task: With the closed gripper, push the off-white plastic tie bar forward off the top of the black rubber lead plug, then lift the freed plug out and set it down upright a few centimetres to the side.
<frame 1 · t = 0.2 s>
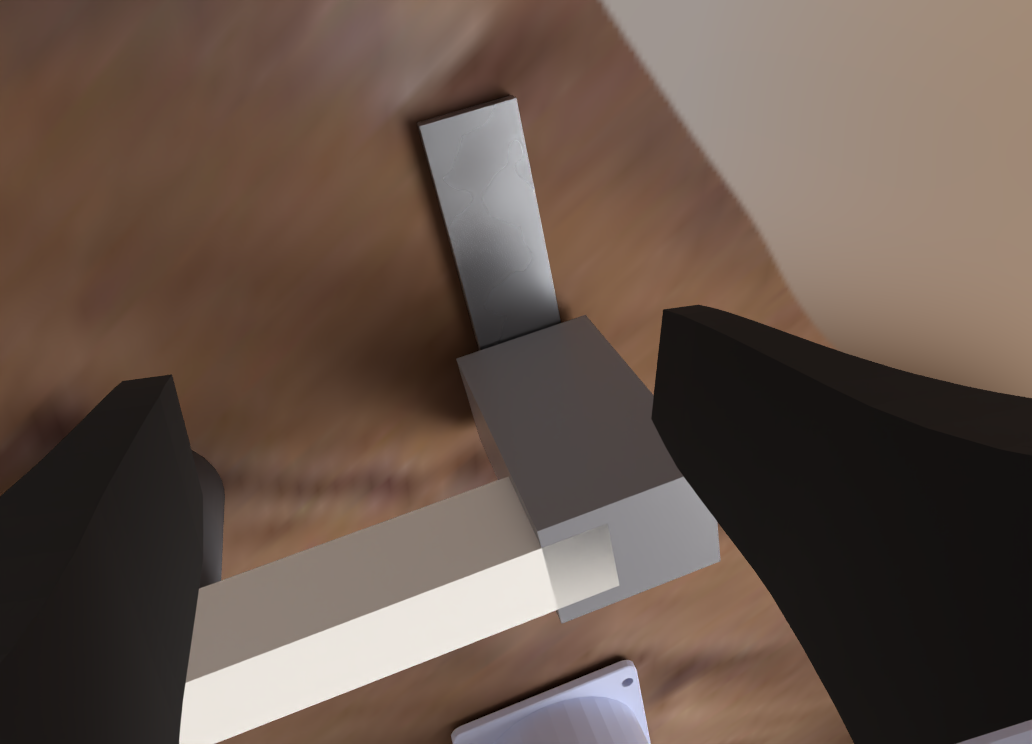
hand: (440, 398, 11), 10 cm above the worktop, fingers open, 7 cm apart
rail: (509, 299, 22), on the worktop
lead plug: (149, 498, 22), on the worktop
tie bar: (342, 533, 19), point 4 cm above the worktop, slide at 0.0 cm
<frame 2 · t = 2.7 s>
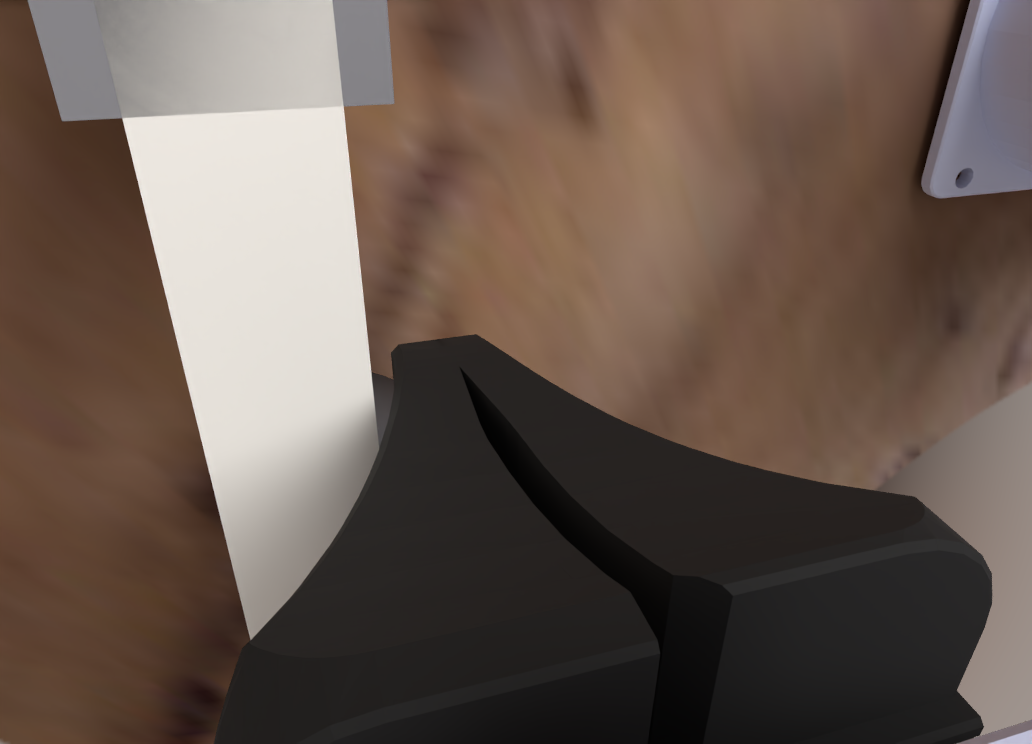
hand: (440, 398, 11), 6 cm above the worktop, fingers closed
lead plug: (347, 441, 19), on the worktop
tie bar: (287, 334, 13), point 4 cm above the worktop, slide at 0.9 cm, touching gripper
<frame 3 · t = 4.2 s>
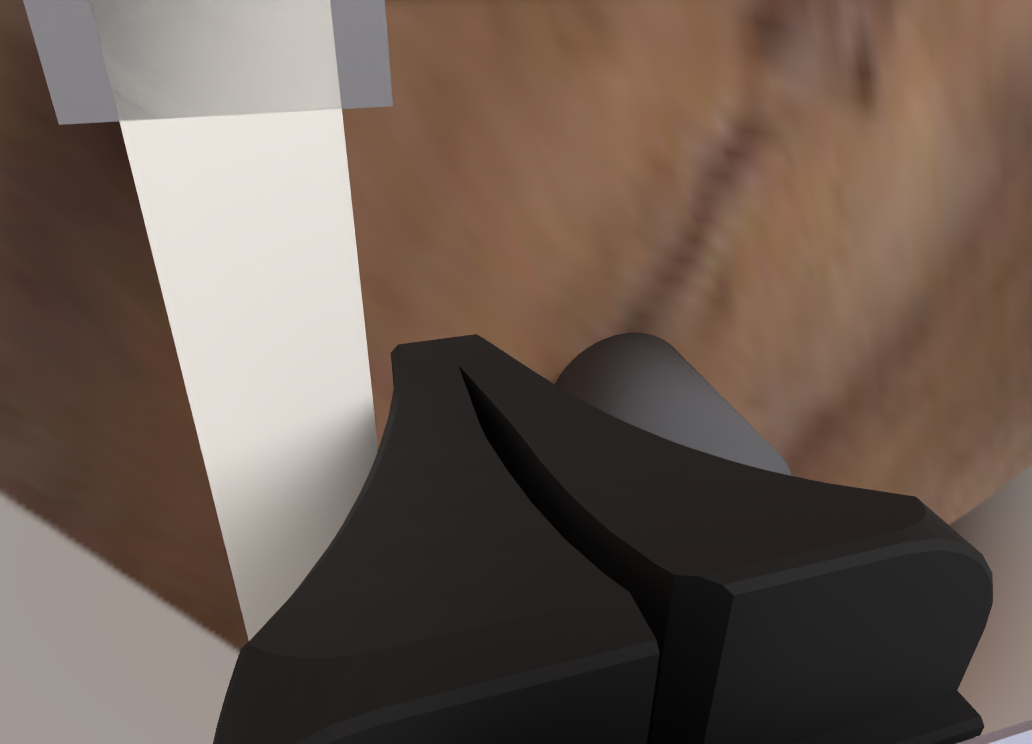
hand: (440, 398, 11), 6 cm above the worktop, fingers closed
lead plug: (619, 399, 21), on the worktop
tie bar: (285, 336, 13), point 4 cm above the worktop, slide at 8.1 cm, touching gripper
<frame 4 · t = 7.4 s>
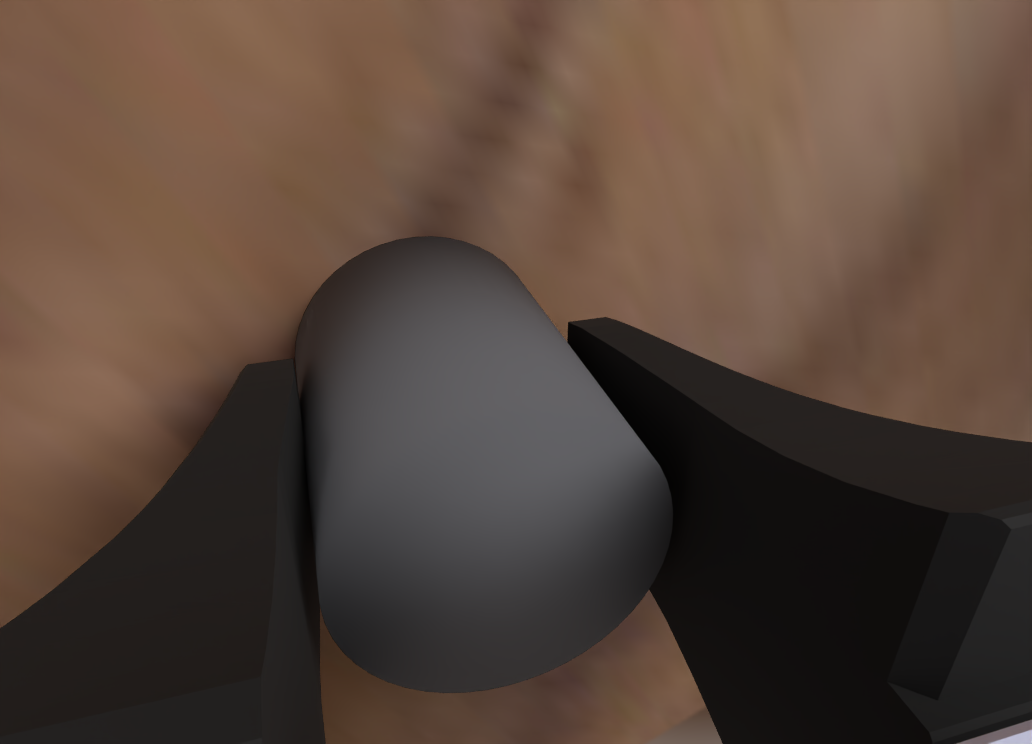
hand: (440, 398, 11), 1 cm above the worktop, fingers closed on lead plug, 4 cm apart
lead plug: (422, 353, 13), on the worktop, touching gripper
when the fingers open (3 cm above the worktop, at t = 10.6 s): lead plug drops 2 cm, on the worktop.
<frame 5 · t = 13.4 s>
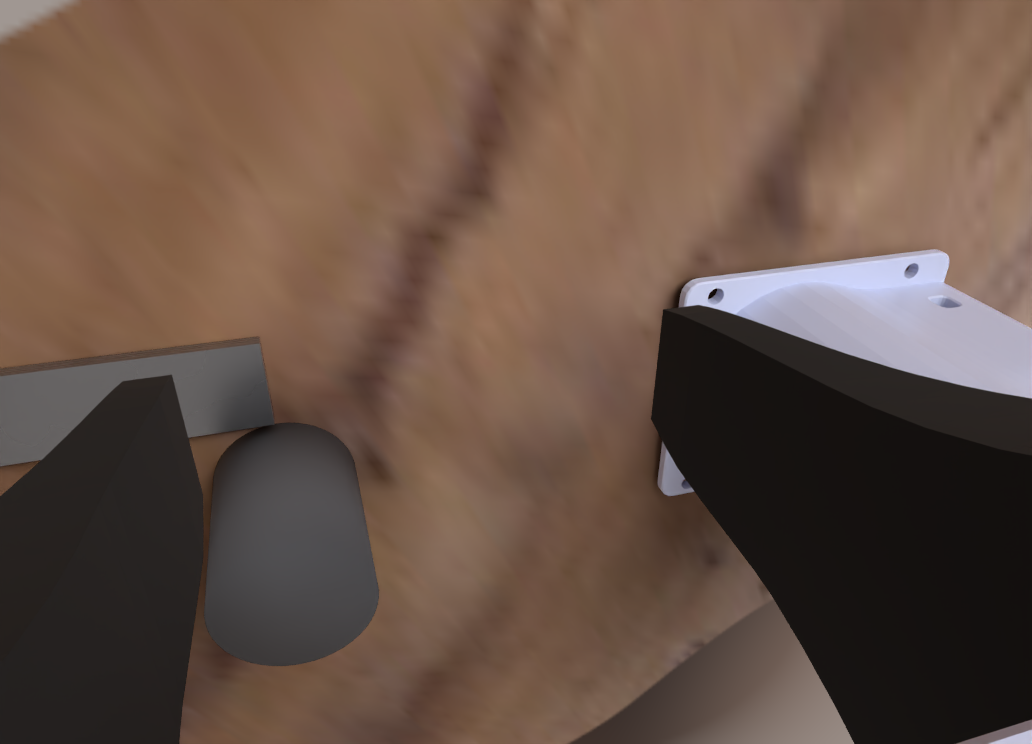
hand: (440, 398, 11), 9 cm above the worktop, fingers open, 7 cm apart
rail: (39, 409, 19), on the worktop
lead plug: (286, 480, 23), on the worktop
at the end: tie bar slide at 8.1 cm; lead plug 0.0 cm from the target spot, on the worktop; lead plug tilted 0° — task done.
